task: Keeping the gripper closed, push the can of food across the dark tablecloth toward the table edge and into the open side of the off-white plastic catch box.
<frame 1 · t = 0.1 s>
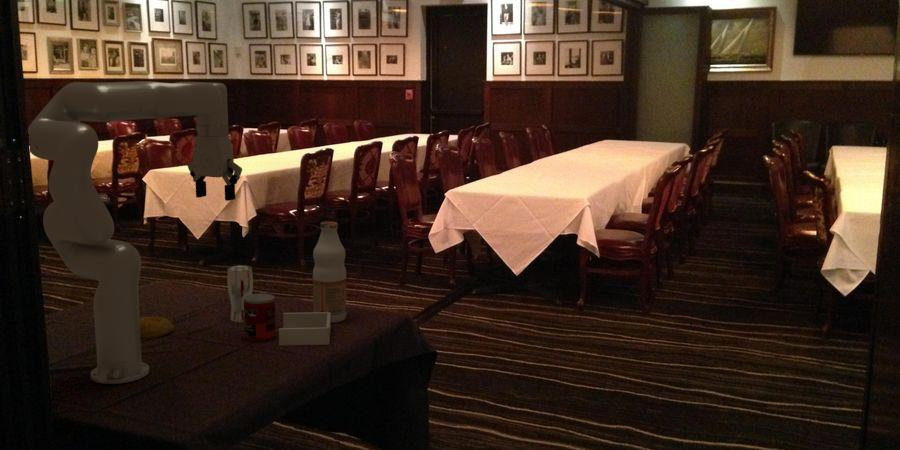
hand: (215, 198, 211), 37 cm above the table, tool pointing down, fingers open, 9 cm apart
bagel: (152, 334, 220), on the table
fruit juice: (330, 319, 235), on the table
catch box: (305, 336, 219), on the table
canned food: (260, 337, 218), on the table
beer glass: (241, 320, 233), on the table
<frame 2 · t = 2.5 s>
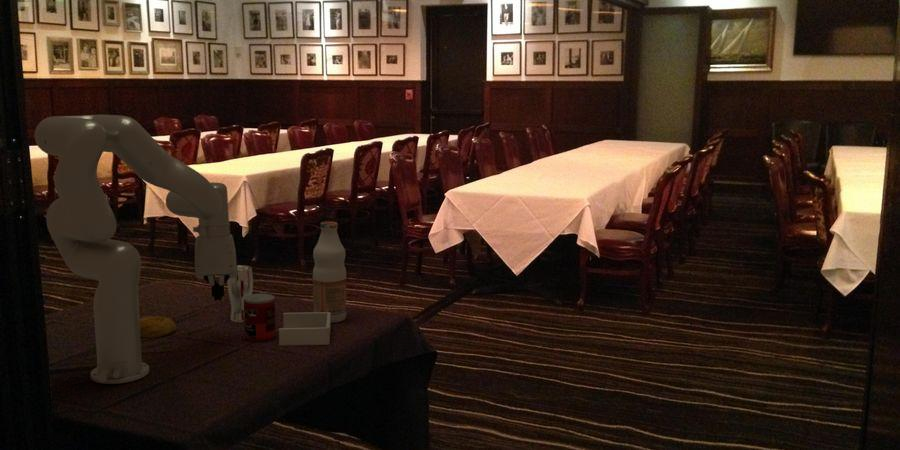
hand: (218, 298, 215), 11 cm above the table, tool pointing down, fingers closed
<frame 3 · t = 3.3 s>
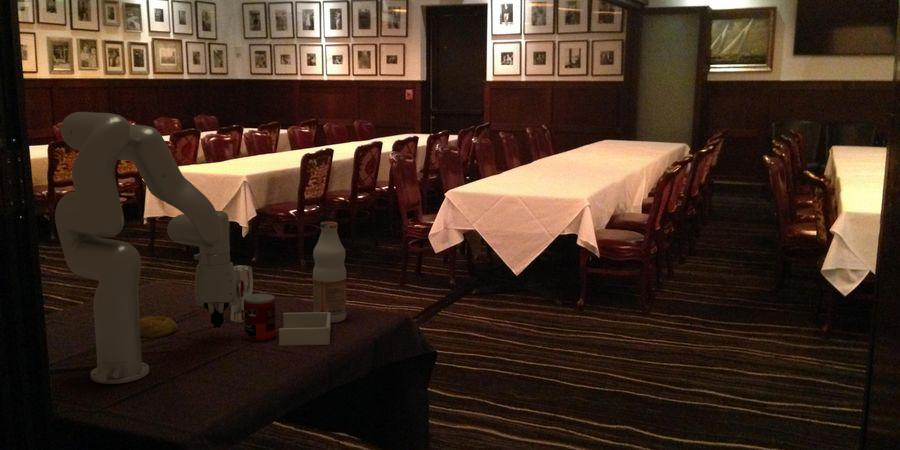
hand: (217, 326, 216), 3 cm above the table, tool pointing down, fingers closed
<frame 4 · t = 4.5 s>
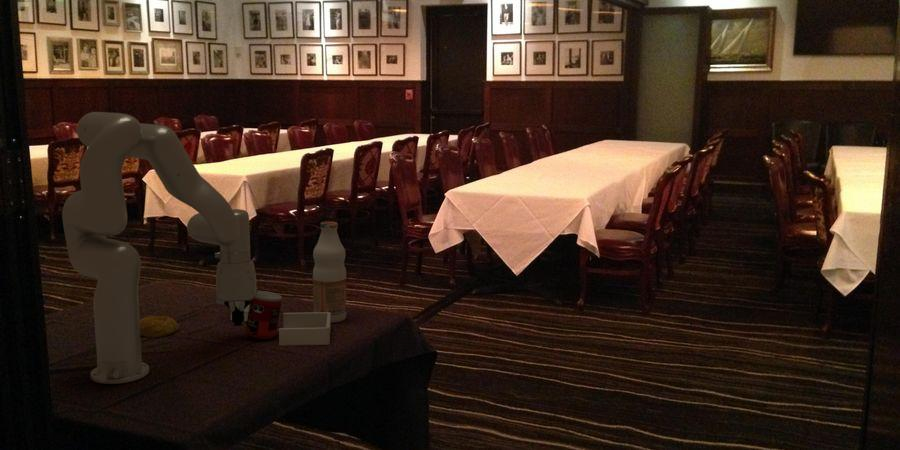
hand: (238, 324, 217), 4 cm above the table, tool pointing down, fingers closed
canned food: (260, 335, 218), on the table, touching gripper
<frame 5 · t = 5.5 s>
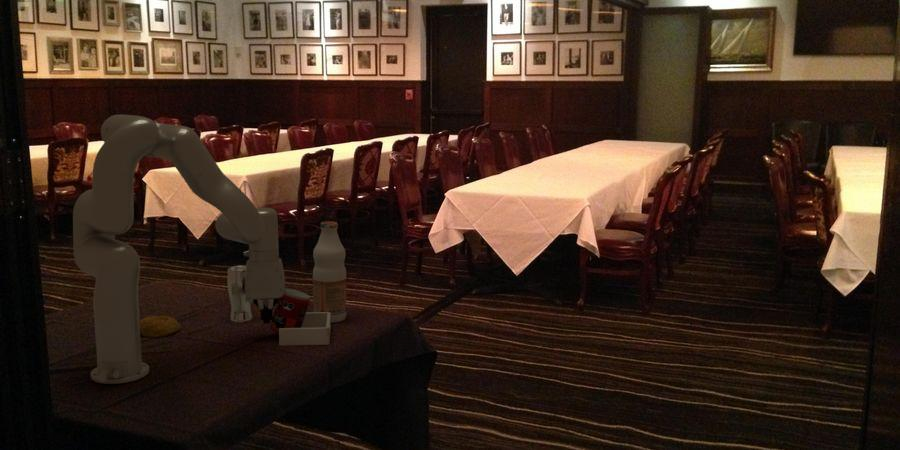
hand: (266, 322, 218), 4 cm above the table, tool pointing down, fingers closed
canned food: (283, 332, 218), point 1 cm above the table, touching gripper
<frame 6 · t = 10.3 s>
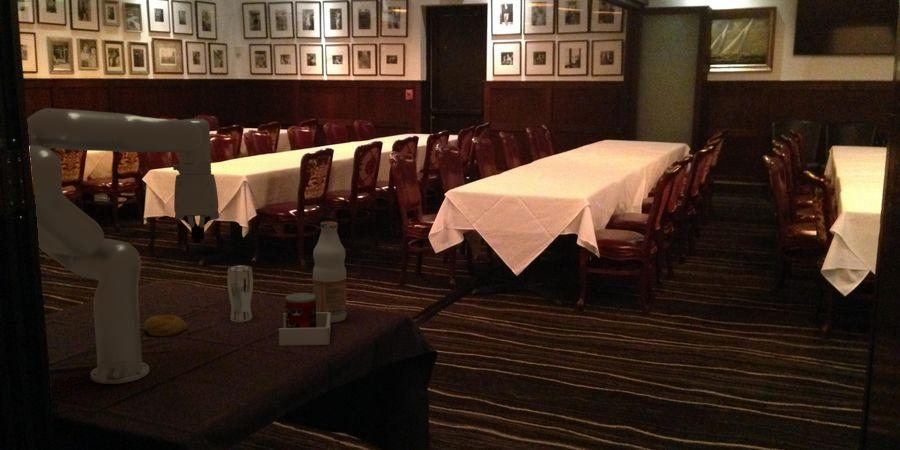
hand: (198, 241, 206), 27 cm above the table, tool pointing down, fingers closed
bagel: (166, 332, 221), on the table
canned food: (301, 336, 219), resting in catch box
everything else where it was.
at the end: canned food inside the target area on the catch box (2.3 cm from its centre), point 0.0 cm above the catch box's base; canned food tilted 0° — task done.
